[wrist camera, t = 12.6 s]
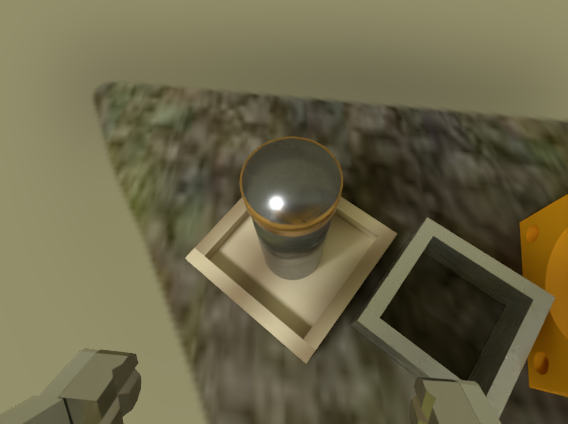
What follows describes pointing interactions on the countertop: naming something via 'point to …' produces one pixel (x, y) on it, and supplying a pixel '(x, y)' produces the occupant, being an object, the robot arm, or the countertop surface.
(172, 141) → the countertop surface
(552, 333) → the pipe clamp
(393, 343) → the socket
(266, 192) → the dome-topped grey cylinder
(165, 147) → the countertop surface
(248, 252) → the tray
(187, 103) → the countertop surface
